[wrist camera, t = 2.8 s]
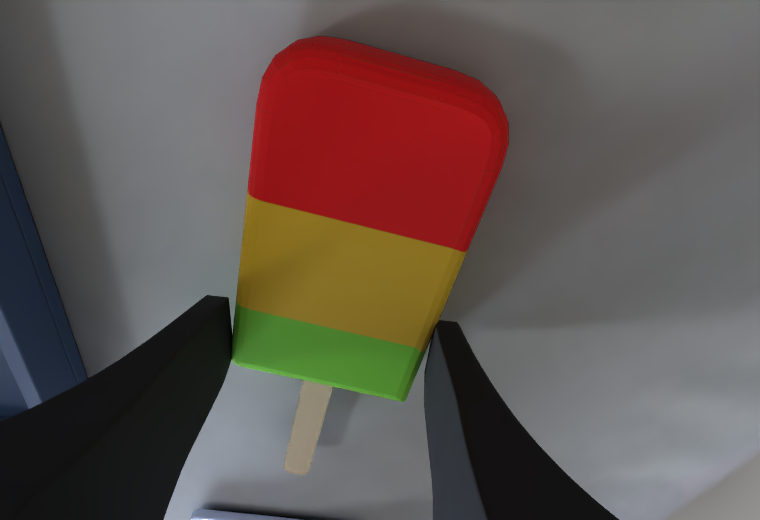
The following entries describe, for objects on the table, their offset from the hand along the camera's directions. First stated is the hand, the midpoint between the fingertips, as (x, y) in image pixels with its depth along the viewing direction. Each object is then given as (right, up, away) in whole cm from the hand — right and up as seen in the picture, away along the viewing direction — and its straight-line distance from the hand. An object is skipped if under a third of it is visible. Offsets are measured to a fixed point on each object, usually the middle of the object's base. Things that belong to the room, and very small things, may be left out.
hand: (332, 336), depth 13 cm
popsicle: (0, +1, +1) cm, 2 cm away
